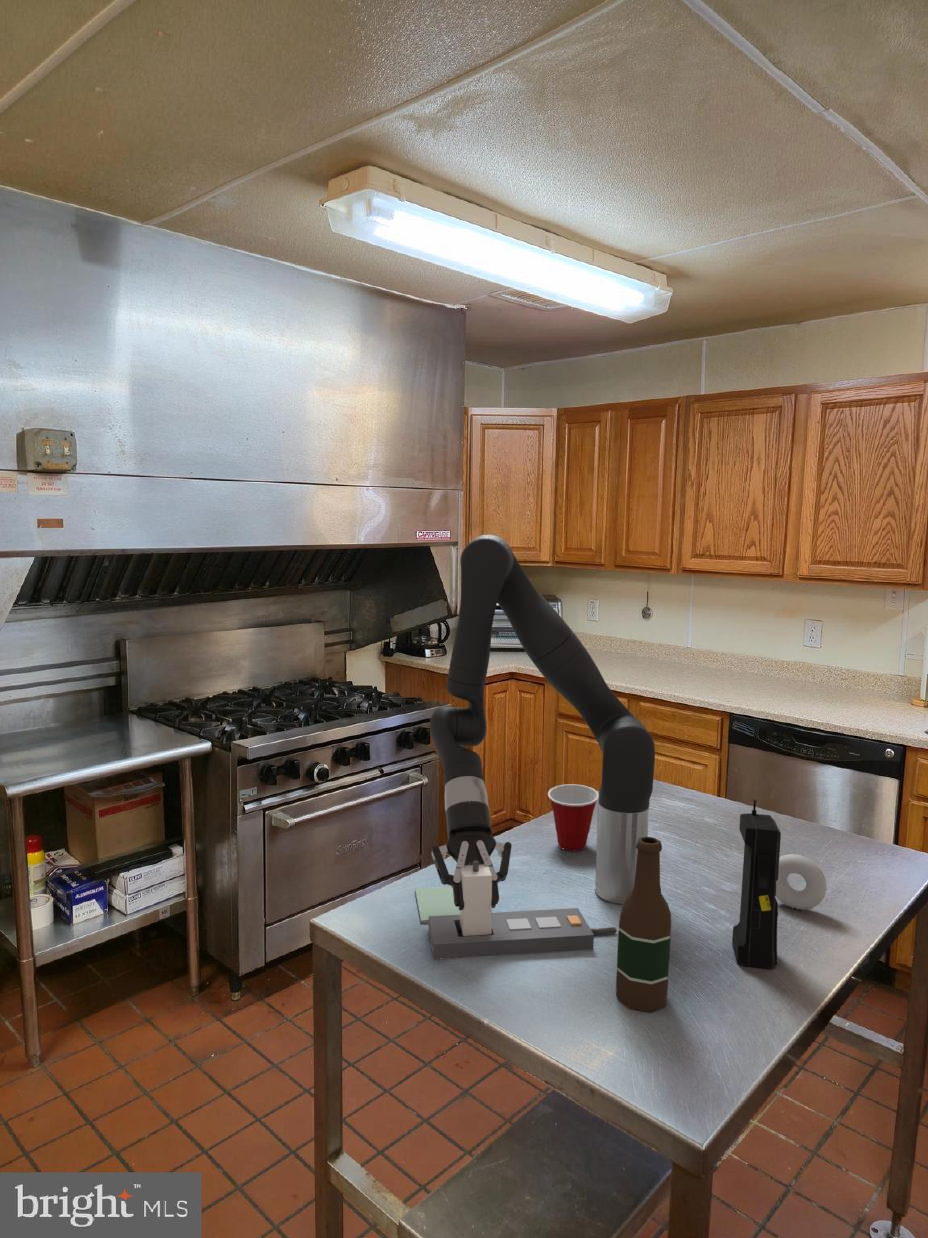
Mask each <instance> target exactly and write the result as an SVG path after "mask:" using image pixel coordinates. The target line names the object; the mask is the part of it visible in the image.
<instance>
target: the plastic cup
mask: <svg viewBox="0 0 928 1238" xmlns="http://www.w3.org/2000/svg"><path fill="white" fill-rule="evenodd" d="M547 795H548V798H549V800H550V803H551V807H552V812H553V813H552V814H553V819H554V826H555V831H556V838H557V843H558V847H559V846H560V847H561V848H560V847H559V848H560V849H562V848H564V849H566V850H565V851H568V850H571V851H570V852H578V851H577V850H580V851H582V850H581V849H583V848H584V849H585V848H586V846H587V843H588V839H589V838H588V837H589V833H590V829H591V824H592V822H593V821H592V820H593V815H594V810H595V807H596V805H597V802H598V801H599V791H597V790H596V789H594V788H593V787H589V786H586V785H584V784H574V783H572V784H571V783H570V784H569V783H568V784H560V785H556V786H554V787H552V788H550V789H549V790H548V792H547ZM564 849H563V850H564ZM584 849H583V850H584ZM574 850H575V851H574Z"/></svg>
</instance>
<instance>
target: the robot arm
mask: <svg viewBox="0 0 928 1238" xmlns="http://www.w3.org/2000/svg"><path fill="white" fill-rule="evenodd" d="M462 550H463V551H462V552H461V554H460V562H459V563H460V604H459V605H460V606H459V612H458V613H459V614H458V615H459V616H458V620H457V626H456V631H455V636H454V640H453V641H454V642H453V645H452V651H451V656H450V662H449V668H448V673H447V680H446V690H447V693H448V694H450V695H451V696H453V697H455V698H457V699H461V700H464V701H467V702H468V707H456V706H455V707H452V706H441V707H438V708H435V710H434V711H433V713H432V714H431V716H430V719H429V732H430V735H431V739H432V741H433V744H434V746H435V748H436V751H437V753H438V756H439V759H440V762H441V765H442V769H443V780H444V811H445V817H446V818H445V820H446V828H447V830H446V831H447V841H446V843H445V844H443V845H441V846H438V845H433V846H432V848H431V855H430V856H431V858H432V861H433V864H434V867H435V869H436V871H437V875H438V877H439V880H440V883H441V884H442V885H444V886H446V885H448V886H449V887H452V888H453V896H454V904H455V906H456V907H459V910H463V908H464V901H463V891H462V883H461V868H464V866H466V865H473V861H475V860H477V861H479V865H483V864H484V865H485V866H486V867H487V866H488V867H489V869H490V872H491V874H492V899H491V906H492V909H495V908H496V905H498V903H499V901H500V893H499V891H500V890H499V886H498V884H499V883H500V882H505V881H506V880H507V879H506V878H507V876H508V872H509V868H510V861H511V860H510V859H511V852H512V846H513V845H512V843H511V842H509V841H506V842H505V843H503V842H500V841H499V842H497V840H496V839H495V837H494V836H493V833H492V823H491V817H490V808H489V802H488V801H489V800H488V799H489V798H488V793H487V789H486V786H485V781H484V772H483V763H482V759H481V756H480V754H478V753H477V752H475V751H473V750H471V749H467V748H465V747H477V746H478V745H480V744H481V743H482V742H484V740H485V738H486V735H487V731H488V730H487V729H488V728H487V727H488V726H487V718H486V717H487V716H486V709H485V686H486V682H487V681H486V679H487V674H488V670H489V669H488V668H489V664H490V663H489V662H490V656H491V645H492V633H493V625H494V618H495V617H494V616H495V612H496V609H497V605H499V607H500V609H502V610H501V611H503V613H504V614H505V617H506V618H507V619H508V621H509V623H510V625H511V627H512V630H513V631H514V633H515V635H516V638H517V639H518V641H519V643H520V644H521V646H522V648H523V650H524V651H525V653H526V655H527V657H528V658H529V659H530V661H531V662H532V664H534V666H535V667H536V668H537V670H538V671H539V672H540V674H541V675H542V676H543V677H544V678H545V680H546V681H547V682H548V683H549V684H550V686H551V687H553V688H554V690H556V692H558V693H559V695H561V697H562V698H564V699H565V700H566V701H567V702H568V703H570V704H571V706H572V707H573V708H574V709H575V710H576V711H577V712H578V713H579V715H580V716H581V717H582V719H583V720H584V722H585V723H586V725H587V726H588V728H589V730H590V731H591V733H592V734H593V736H594V739H595V740H596V742H597V743H598V746H599V748H600V750H601V752H602V765H601V766H602V769H601V784H600V787H599V790H598V794H599V798H598V800H597V802H598V805H597V807H598V808H597V827H596V828H597V829H596V851H595V852H596V853H595V854H596V855H595V878H594V883H595V884H594V891H595V894H596V895H597V896H598V897H599V898H601V899H603V900H604V901H607V902H610V903H614V904H618V905H619V904H620V905H621V904H622V905H623V904H624V901H625V899H626V897H627V896H628V895H629V893H630V892H631V891H632V890H633V887H634V881H635V872H636V863H637V854H638V849H637V848H636V845H637V841H638V838H642V837H649V815H650V800H651V796H652V793H653V789H654V778H655V777H654V774H655V763H656V761H655V760H656V747H655V742H654V738H653V736H652V735H651V733H650V732H649V730H648V729H647V728H646V727H645V725H644V724H643V723H642V722H641V721H640V719H638V718H637V717H636V716H635V715H634V714H633V713H632V712H631V711H630V710H629V709H628V708H627V706H625V705H624V704H623V703H622V701H621V700H620V699H619V697H617V696H616V695H615V694H614V692H613V691H612V689H611V688H610V687H609V685H608V683H607V682H606V681H605V679H604V677H603V675H602V673H601V672H600V670H599V668H598V665H597V664H596V662H595V661H594V659H593V658H592V656H591V655H590V653H589V652H588V650H587V649H586V647H585V646H584V645H583V643H582V641H581V640H580V639H579V637H578V636H577V635H576V634H575V632H574V631H573V630H572V629H571V627H570V626H569V625H568V624H567V623H566V621H565V620H564V619H563V617H561V615H560V614H559V612H557V610H555V609H554V607H553V606H552V605H551V604H550V603H549V602H548V600H547V599H546V598H544V596H543V595H542V594H541V593H540V592H539V591H538V590H537V588H536V587H535V586H534V584H533V583H532V581H531V580H530V579H529V576H528V575H527V574H526V572H525V571H524V569H523V567H522V566H521V564H520V562H519V560H518V559H517V557H516V555H515V554H514V552H513V550H512V548H511V546H510V545H509V544H508V542H506V541H505V540H504V539H503V538H501V537H500V536H497V535H494V534H482V535H479V536H476V537H475V538H473V539H471V541H469V542H468V543H467V544H466V546H465V547H464V548H463V549H462ZM495 850H496V851H497V856H498V857H500V858H501V859H500V866H499V871H497V872H496V870H495V868H494V865H493V861H492V859H491V855H492V854H493V852H494V851H495ZM446 853H448V854H449V855H450V856H451V858H452V859H453V860H454V861H455V862H456V865H455V870H454V875H452V874H451V873H450V872H449V870H448V867H447V864H446V862H445V859H446V855H447V854H446Z"/></svg>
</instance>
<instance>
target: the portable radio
mask: <svg viewBox="0 0 928 1238" xmlns="http://www.w3.org/2000/svg"><path fill="white" fill-rule="evenodd" d="M757 801H758V800H757V799H752V802H753V809H751V813H749V812H747V813H741V814H739V815H740V816H739V832H740V835H741V838H742V839H743V842H744V847H743V864H742V877H741V878H742V879H741V880H742V881H741V896H740V910H739V922H738V923H737V924H736V925H734V926H733V927H732V936H731V937H732V942H731V945H732V948H733V949H732V950H733V952H734V958H735V960H736V961H735V962H736V963H737V964H740V965H743V966H746V967H747V966H749V967H755V968H763V969H769V970H771V969H772V970H773V969H774V968H775V966H777V965H778V919H779V918H778V917H779V903H778V899H777V897H776V881H777V880H778V872H779V857H781V856H780V855H781V853H780V852H781V836H782V835H781V834H782V832H781V831H780V829H779V827H778V825H777V823H776V820H775V819H774V818H773V817H772V815H770V814H761V813H760V814H759V813H757V810H756V806H757Z"/></svg>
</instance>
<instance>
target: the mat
mask: <svg viewBox="0 0 928 1238" xmlns="http://www.w3.org/2000/svg"><path fill="white" fill-rule="evenodd" d="M414 893H415V897H416V902H417V908H418V909H417V910H418V915H419V919H420V923H421V924H428V916H442V915H460V910H459V907H456V906H455V904H454V896H453V888H452V886H438V887H417V888H415V889H414Z"/></svg>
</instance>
